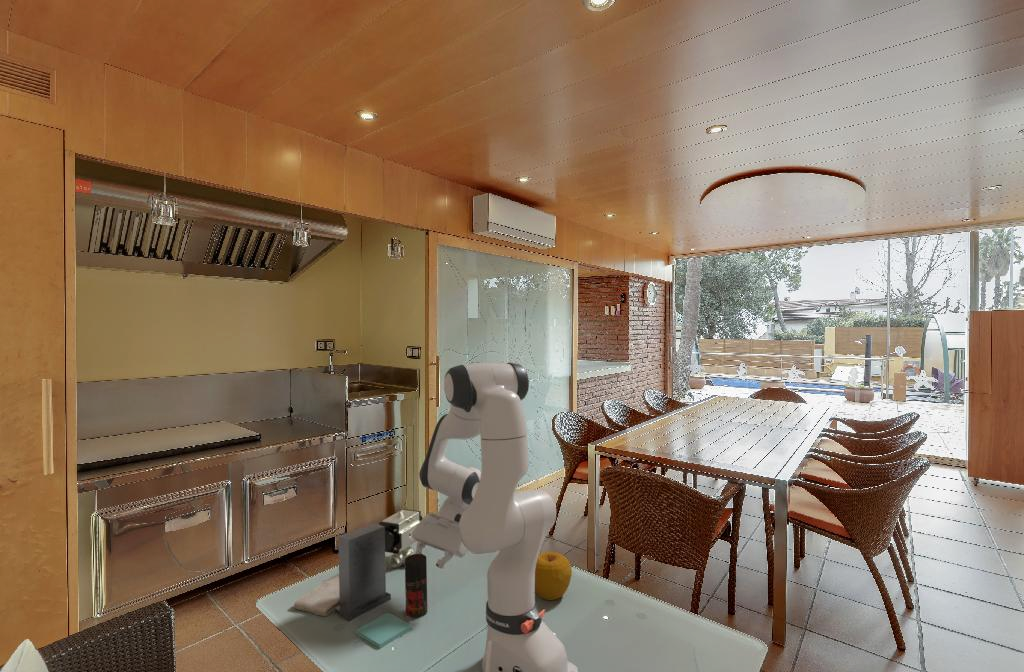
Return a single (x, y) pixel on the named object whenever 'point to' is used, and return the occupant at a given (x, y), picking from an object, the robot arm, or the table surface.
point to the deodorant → (416, 585)
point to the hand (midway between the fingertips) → (427, 562)
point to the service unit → (361, 571)
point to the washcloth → (321, 598)
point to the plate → (383, 630)
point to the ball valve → (400, 535)
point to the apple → (552, 575)
